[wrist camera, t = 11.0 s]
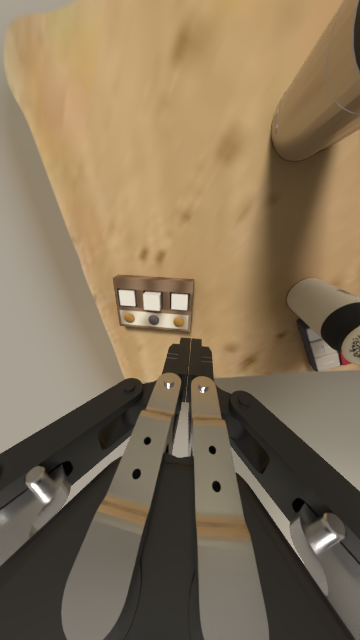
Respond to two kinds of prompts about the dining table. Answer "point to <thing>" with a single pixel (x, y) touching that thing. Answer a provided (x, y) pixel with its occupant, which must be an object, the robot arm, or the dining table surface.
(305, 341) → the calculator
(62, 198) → the dining table surface
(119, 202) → the dining table surface
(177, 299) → the key
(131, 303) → the key
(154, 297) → the key middle
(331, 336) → the travel mug
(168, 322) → the button board
